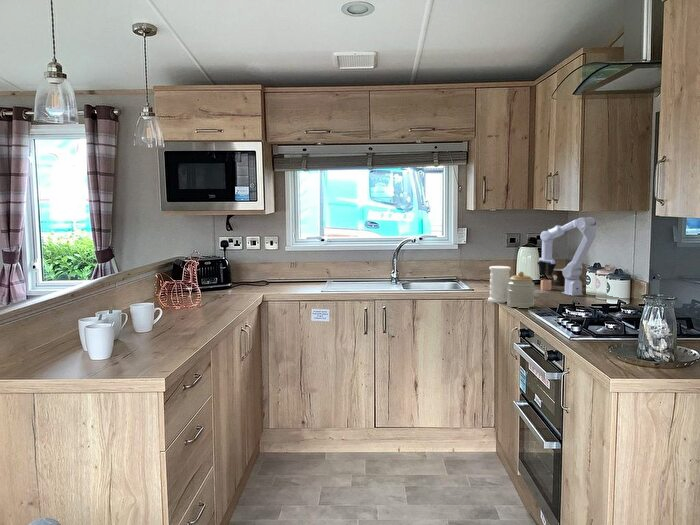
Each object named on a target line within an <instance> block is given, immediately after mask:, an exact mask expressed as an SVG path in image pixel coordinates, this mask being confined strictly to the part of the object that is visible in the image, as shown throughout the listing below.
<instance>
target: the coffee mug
mask: <svg viewBox="0 0 700 525" xmlns="http://www.w3.org/2000/svg"><path fill="white" fill-rule="evenodd" d="M563 269H564V268H554V270H553V273H552V276H550V278H552V281H553V286H555V287H556V286H558V287H565V277H564V276H563Z"/></svg>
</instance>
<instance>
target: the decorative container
mask: <svg viewBox="0 0 700 525" xmlns="http://www.w3.org/2000/svg"><path fill="white" fill-rule="evenodd" d="M488 269H489V270H490V274H489V278H490V279H489V283H490V284H489V290H490V291H489V297H488V298H487V302H489V303H494V304H495V303H496V304H505V302H506V301H507V292H508V291H507V289H508V284H507V283H508V282H509V281H510V279H509V278H510V275H511V274H510V271H511V266H506V265H491V266H489V268H488Z"/></svg>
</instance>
